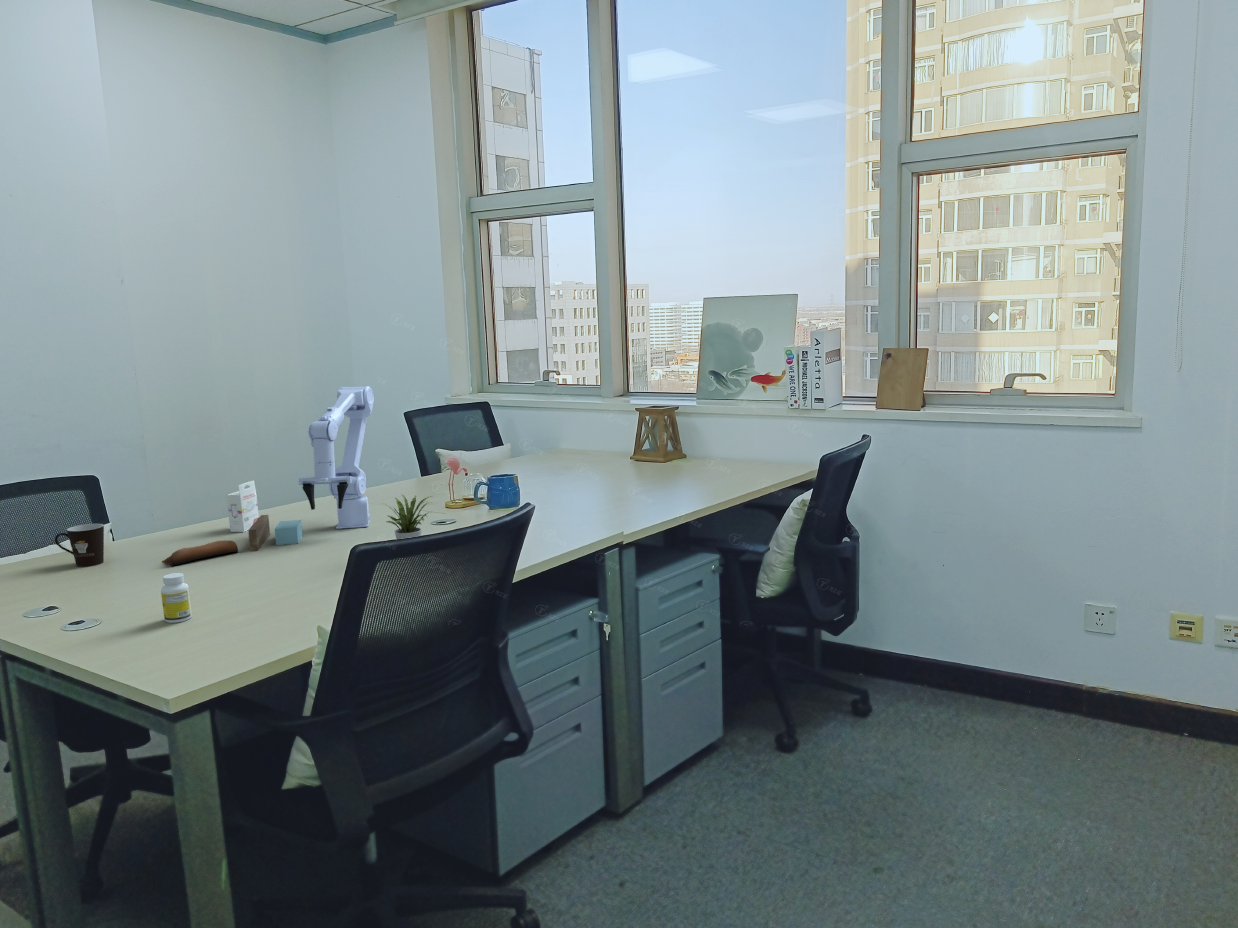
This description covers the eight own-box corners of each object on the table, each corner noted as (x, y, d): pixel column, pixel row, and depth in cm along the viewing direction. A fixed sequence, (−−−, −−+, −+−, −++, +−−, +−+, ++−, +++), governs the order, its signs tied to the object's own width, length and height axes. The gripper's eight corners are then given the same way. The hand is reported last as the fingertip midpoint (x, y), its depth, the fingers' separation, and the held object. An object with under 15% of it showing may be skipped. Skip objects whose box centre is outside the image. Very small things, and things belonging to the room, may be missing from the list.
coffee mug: (115, 560, 250) (111, 524, 249) (88, 568, 242) (83, 531, 241) (83, 557, 254) (78, 522, 253) (55, 566, 246) (50, 529, 245)
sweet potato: (224, 548, 260) (228, 529, 257) (236, 563, 257) (239, 545, 254) (158, 562, 247) (161, 543, 244) (169, 578, 244) (172, 559, 240)
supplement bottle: (170, 615, 201) (165, 572, 199) (196, 614, 201) (191, 571, 200) (160, 624, 195) (155, 579, 194) (186, 622, 196) (181, 578, 194)
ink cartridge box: (245, 525, 289) (241, 479, 286) (260, 526, 288) (255, 479, 285) (229, 532, 280) (224, 484, 278) (243, 532, 279) (239, 485, 277)
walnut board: (270, 534, 276) (268, 514, 275) (257, 550, 257) (255, 529, 256) (263, 534, 276) (261, 515, 275) (250, 550, 256) (248, 529, 255)
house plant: (451, 548, 252) (447, 489, 250) (420, 561, 240) (416, 499, 237) (409, 544, 258) (405, 487, 256) (376, 556, 246) (372, 496, 243)
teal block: (302, 536, 273) (301, 519, 272) (298, 544, 263) (296, 527, 263) (281, 537, 272) (280, 521, 271) (276, 545, 262) (274, 528, 261)
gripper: (295, 464, 262) (297, 511, 263) (347, 462, 264) (350, 509, 265) (300, 462, 269) (303, 508, 270) (351, 460, 271) (353, 506, 272)
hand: (326, 508), depth 268 cm, fingers open, 7 cm apart
